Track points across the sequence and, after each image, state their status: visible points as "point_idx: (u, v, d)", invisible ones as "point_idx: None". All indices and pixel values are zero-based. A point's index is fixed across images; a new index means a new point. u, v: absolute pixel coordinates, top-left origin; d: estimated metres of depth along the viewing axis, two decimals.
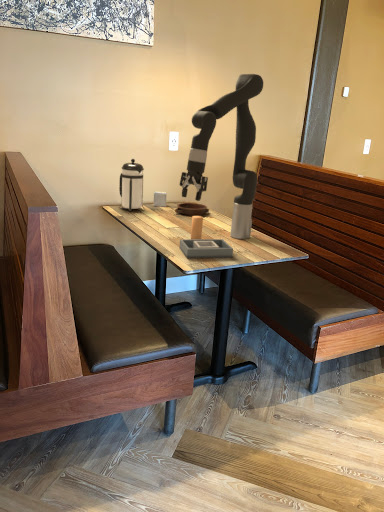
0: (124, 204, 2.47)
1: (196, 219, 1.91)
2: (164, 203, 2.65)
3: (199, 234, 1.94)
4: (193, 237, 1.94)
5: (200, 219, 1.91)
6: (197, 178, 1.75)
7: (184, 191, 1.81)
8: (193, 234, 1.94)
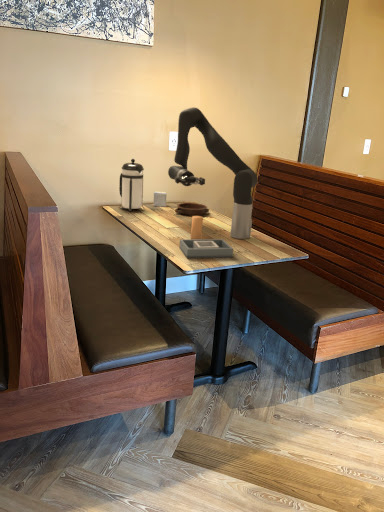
0: (124, 204, 2.47)
1: (196, 219, 1.91)
2: (164, 203, 2.65)
3: (199, 234, 1.94)
4: (193, 237, 1.94)
5: (200, 219, 1.91)
6: None
7: (200, 183, 2.02)
8: (193, 234, 1.94)
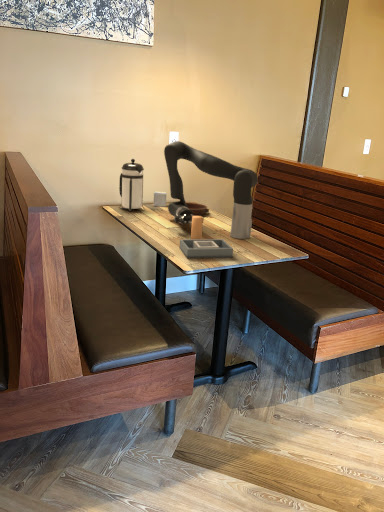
0: (124, 204, 2.47)
1: (196, 219, 1.91)
2: (164, 203, 2.65)
3: (199, 234, 1.94)
4: (193, 237, 1.94)
5: (200, 219, 1.91)
6: None
7: None
8: (193, 234, 1.94)
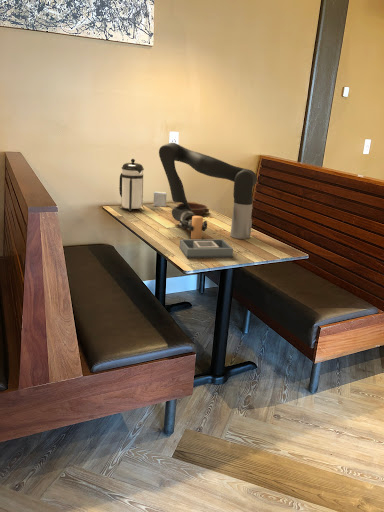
0: (124, 204, 2.47)
1: (196, 219, 1.91)
2: (164, 203, 2.65)
3: (199, 234, 1.94)
4: (193, 237, 1.94)
5: (200, 219, 1.91)
6: None
7: (202, 228, 1.95)
8: (193, 234, 1.94)
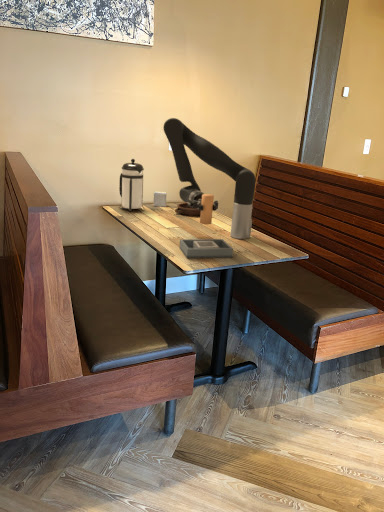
0: (124, 204, 2.47)
1: (206, 197, 1.73)
2: (164, 203, 2.65)
3: (210, 214, 1.76)
4: (203, 217, 1.77)
5: (211, 197, 1.74)
6: None
7: None
8: (203, 214, 1.76)
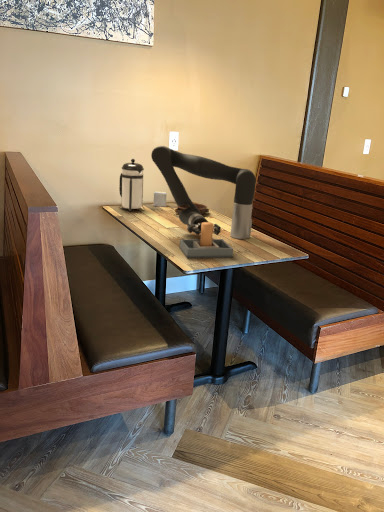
0: (124, 204, 2.47)
1: (206, 226, 1.76)
2: (164, 203, 2.65)
3: (209, 242, 1.79)
4: (203, 245, 1.79)
5: (210, 226, 1.76)
6: None
7: (215, 232, 1.81)
8: (203, 242, 1.79)
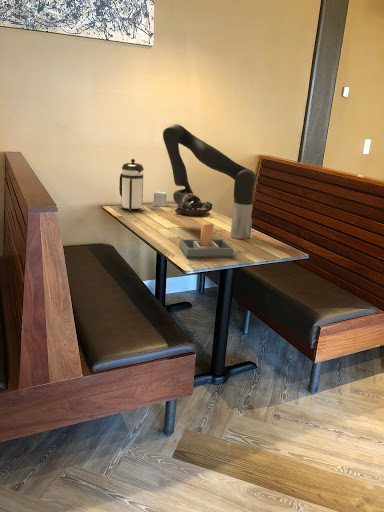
0: (124, 204, 2.47)
1: (206, 226, 1.76)
2: (164, 203, 2.65)
3: (209, 242, 1.79)
4: (203, 245, 1.79)
5: (210, 226, 1.76)
6: None
7: (207, 208, 1.93)
8: (203, 242, 1.79)
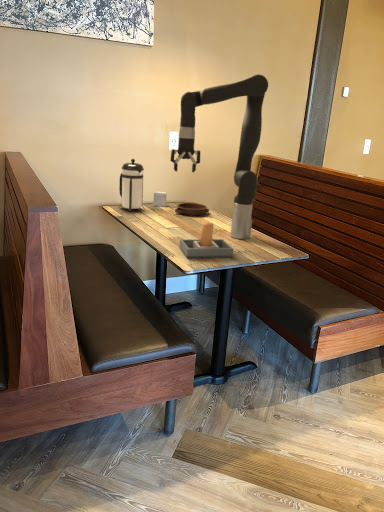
0: (124, 204, 2.47)
1: (206, 226, 1.76)
2: (164, 203, 2.65)
3: (209, 242, 1.79)
4: (203, 245, 1.79)
5: (210, 226, 1.76)
6: None
7: (192, 166, 2.04)
8: (203, 242, 1.79)
